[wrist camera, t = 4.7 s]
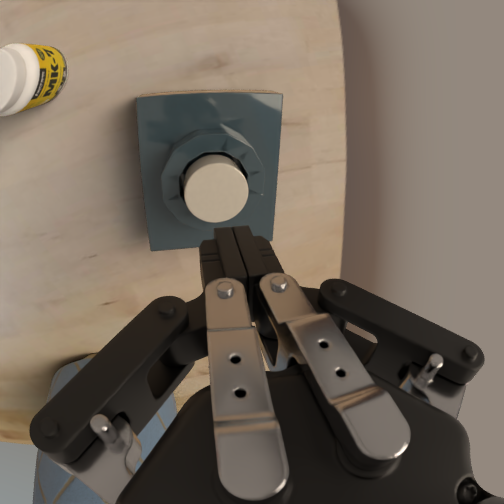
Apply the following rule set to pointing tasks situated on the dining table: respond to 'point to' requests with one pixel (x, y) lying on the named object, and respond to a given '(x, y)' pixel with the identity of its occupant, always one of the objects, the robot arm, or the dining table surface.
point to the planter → (68, 486)
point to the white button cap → (215, 188)
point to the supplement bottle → (30, 76)
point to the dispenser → (203, 144)
